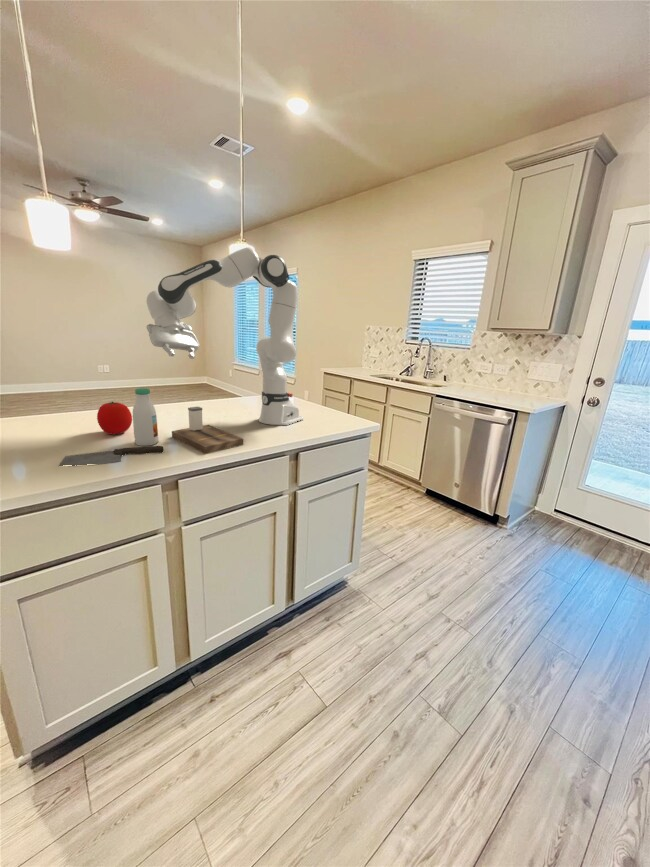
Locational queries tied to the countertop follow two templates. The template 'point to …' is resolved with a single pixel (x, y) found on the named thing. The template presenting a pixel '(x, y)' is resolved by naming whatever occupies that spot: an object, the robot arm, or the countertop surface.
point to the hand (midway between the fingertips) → (182, 356)
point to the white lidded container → (195, 418)
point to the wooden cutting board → (207, 438)
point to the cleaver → (108, 455)
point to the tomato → (114, 418)
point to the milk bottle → (144, 419)
